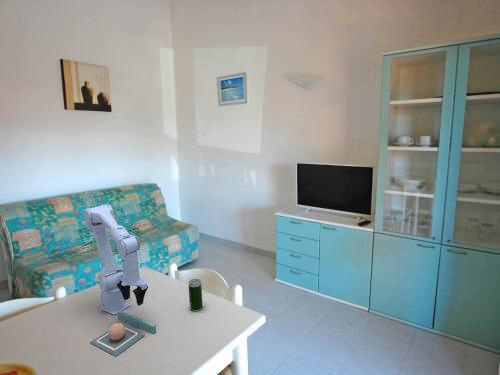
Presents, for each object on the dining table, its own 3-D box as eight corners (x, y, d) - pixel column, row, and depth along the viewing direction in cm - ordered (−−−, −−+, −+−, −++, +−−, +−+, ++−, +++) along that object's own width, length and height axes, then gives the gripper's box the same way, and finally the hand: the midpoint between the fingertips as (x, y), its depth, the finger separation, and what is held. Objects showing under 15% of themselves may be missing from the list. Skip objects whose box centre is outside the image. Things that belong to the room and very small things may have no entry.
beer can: (192, 313, 125) (191, 286, 123) (187, 307, 129) (186, 280, 127) (204, 309, 128) (203, 282, 126) (199, 303, 132) (198, 277, 130)
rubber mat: (90, 343, 108) (89, 340, 108) (119, 324, 118) (119, 322, 118) (116, 356, 101) (115, 354, 101) (144, 336, 111) (144, 333, 111)
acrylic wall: (117, 318, 122) (117, 311, 122) (120, 317, 123) (119, 310, 123) (153, 333, 112) (153, 326, 112) (156, 332, 113) (155, 324, 113)
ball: (105, 340, 109) (104, 326, 108) (119, 331, 113) (117, 318, 112) (116, 345, 106) (114, 331, 105) (129, 336, 111) (127, 322, 110)
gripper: (109, 268, 116) (112, 301, 118) (134, 277, 108) (137, 312, 111) (125, 261, 121) (127, 293, 124) (150, 269, 114) (153, 303, 117)
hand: (133, 301), depth 118 cm, fingers open, 7 cm apart
